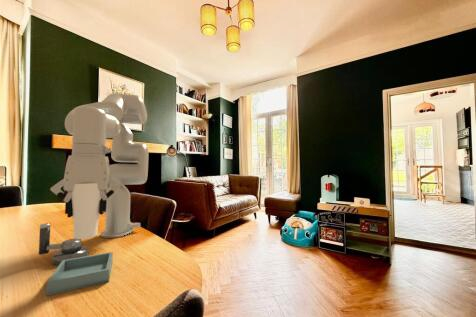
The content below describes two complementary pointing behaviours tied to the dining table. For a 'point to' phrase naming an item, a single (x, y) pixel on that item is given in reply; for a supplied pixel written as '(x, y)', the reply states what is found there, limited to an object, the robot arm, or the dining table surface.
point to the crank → (65, 246)
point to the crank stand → (69, 255)
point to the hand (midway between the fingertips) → (86, 214)
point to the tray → (80, 273)
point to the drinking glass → (85, 210)
